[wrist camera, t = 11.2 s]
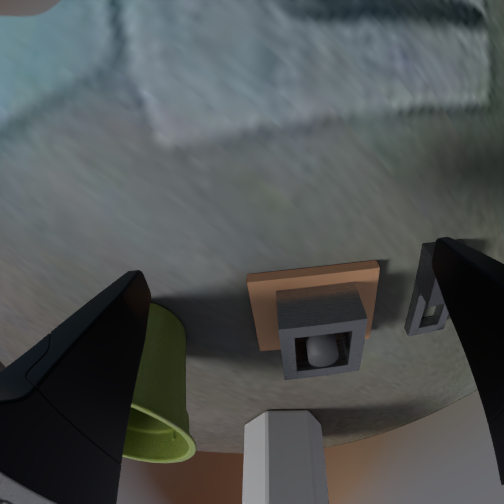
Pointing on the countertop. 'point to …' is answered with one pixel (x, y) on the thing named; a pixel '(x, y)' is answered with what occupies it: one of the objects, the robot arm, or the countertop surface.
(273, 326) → the tan board with knob
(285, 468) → the soap bottle
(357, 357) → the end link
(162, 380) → the plant pot
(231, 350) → the countertop surface
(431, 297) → the dark clasp block
